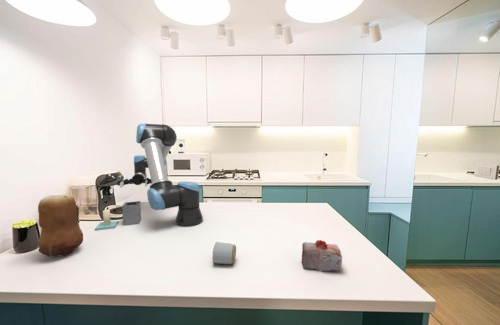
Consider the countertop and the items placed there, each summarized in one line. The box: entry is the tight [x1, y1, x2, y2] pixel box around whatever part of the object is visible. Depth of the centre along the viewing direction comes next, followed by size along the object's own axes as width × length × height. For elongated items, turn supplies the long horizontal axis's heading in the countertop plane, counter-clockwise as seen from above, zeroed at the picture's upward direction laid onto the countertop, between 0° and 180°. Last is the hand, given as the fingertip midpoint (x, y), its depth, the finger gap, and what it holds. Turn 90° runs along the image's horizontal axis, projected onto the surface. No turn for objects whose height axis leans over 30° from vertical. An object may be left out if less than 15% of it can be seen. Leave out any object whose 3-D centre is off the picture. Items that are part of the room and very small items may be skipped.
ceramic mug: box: [211, 241, 237, 265], centre depth 85 cm, size 11×8×8 cm
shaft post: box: [94, 208, 120, 231], centre depth 118 cm, size 9×9×9 cm
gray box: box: [121, 200, 142, 226], centre depth 124 cm, size 8×8×11 cm
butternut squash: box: [37, 194, 84, 258], centre depth 88 cm, size 14×13×25 cm
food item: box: [301, 239, 343, 273], centre depth 80 cm, size 14×8×10 cm, turn 82°
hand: (133, 184), depth 131 cm, fingers open, 13 cm apart
